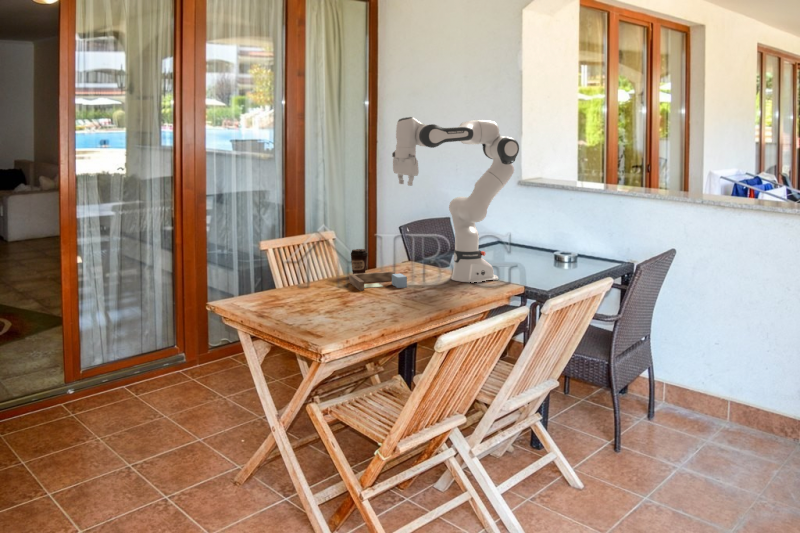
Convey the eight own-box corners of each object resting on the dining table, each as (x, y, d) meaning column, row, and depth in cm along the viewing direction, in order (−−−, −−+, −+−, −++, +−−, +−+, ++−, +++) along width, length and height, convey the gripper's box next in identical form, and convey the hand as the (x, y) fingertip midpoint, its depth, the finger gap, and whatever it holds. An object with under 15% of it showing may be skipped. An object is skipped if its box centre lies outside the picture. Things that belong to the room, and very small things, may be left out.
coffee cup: (365, 278, 362) (365, 251, 359) (348, 277, 364) (348, 250, 361) (369, 274, 370) (369, 248, 368) (353, 273, 372) (353, 247, 369)
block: (400, 284, 350) (401, 273, 349) (406, 287, 343) (406, 276, 342) (391, 284, 349) (391, 274, 348) (397, 288, 341) (397, 277, 340)
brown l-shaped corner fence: (393, 279, 359) (393, 271, 358) (406, 287, 343) (406, 278, 342) (348, 282, 352) (348, 274, 351) (359, 290, 335) (359, 281, 335)
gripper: (422, 154, 330) (421, 186, 333) (403, 153, 349) (402, 182, 351) (409, 155, 328) (408, 186, 330) (390, 153, 346) (390, 183, 349)
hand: (405, 184), depth 341 cm, fingers open, 8 cm apart
